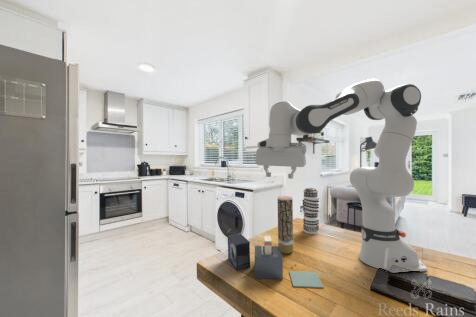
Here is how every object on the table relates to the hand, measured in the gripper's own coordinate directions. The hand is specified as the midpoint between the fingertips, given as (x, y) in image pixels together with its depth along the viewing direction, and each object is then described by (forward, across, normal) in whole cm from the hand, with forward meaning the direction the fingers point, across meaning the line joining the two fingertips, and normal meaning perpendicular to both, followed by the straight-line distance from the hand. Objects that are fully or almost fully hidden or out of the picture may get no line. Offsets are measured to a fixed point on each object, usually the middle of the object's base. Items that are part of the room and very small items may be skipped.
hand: (279, 177), depth 83 cm
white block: (+33, +2, +6) cm, 33 cm away
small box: (+37, +15, +6) cm, 40 cm away
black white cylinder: (+35, -2, -46) cm, 58 cm away
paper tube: (+36, +2, -14) cm, 39 cm away
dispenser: (+36, +2, +6) cm, 36 cm away
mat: (+36, -12, +3) cm, 38 cm away
